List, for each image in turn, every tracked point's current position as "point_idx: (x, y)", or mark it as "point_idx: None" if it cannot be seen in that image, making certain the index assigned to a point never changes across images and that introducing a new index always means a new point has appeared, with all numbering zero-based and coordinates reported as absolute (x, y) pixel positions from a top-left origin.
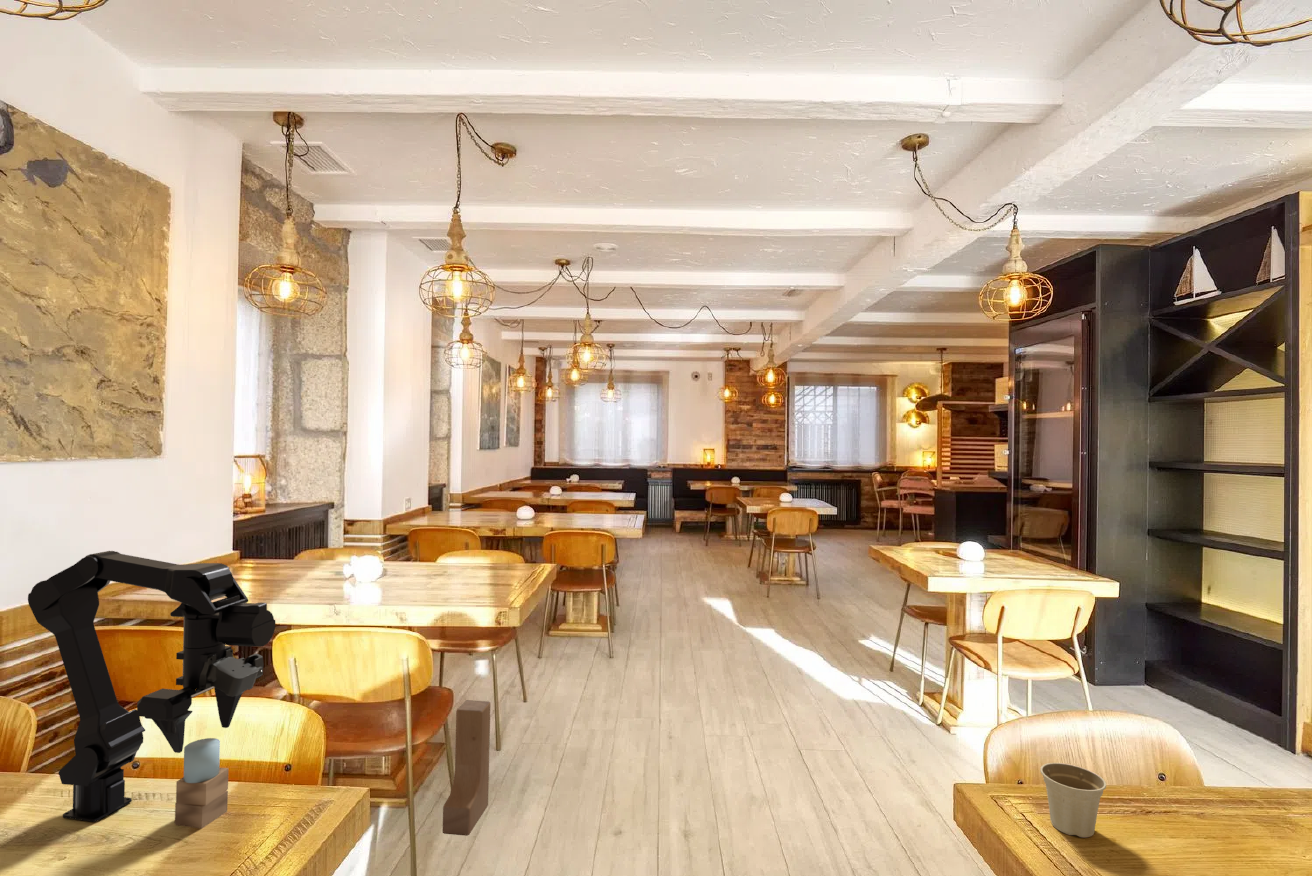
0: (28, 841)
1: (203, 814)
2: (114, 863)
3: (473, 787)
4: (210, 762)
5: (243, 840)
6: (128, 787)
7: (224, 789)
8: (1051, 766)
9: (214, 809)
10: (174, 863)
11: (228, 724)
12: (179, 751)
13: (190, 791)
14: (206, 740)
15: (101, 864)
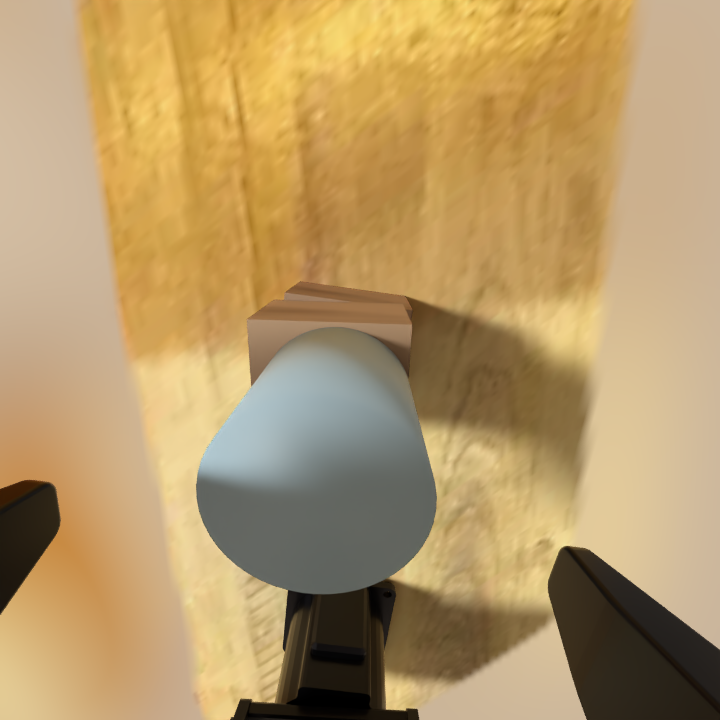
0: (473, 648)
1: (403, 303)
2: (579, 416)
3: None
4: (369, 363)
5: (475, 85)
6: (229, 620)
7: (293, 302)
8: None
9: (353, 295)
10: (598, 246)
11: (20, 493)
12: (592, 557)
13: None
14: (242, 518)
15: (581, 444)
